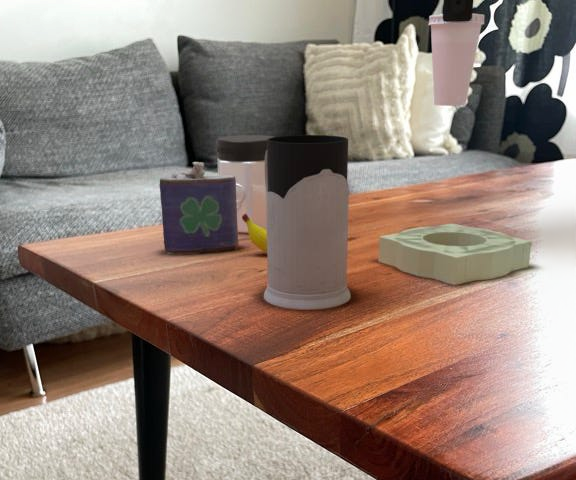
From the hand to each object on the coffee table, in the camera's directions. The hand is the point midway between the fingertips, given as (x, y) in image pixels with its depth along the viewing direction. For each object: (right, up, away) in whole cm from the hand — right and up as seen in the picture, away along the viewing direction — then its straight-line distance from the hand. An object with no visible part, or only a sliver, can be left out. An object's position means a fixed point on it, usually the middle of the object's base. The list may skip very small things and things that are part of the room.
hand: (456, 21), depth 84 cm
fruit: (-20, -27, +4) cm, 34 cm away
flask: (-30, -26, +6) cm, 40 cm away
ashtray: (-1, -28, -1) cm, 28 cm away
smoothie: (0, -8, +4) cm, 9 cm away
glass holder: (-19, -32, -9) cm, 39 cm away
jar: (-25, -20, +18) cm, 37 cm away
